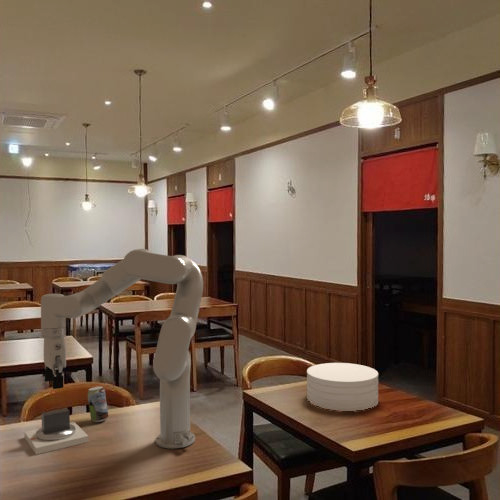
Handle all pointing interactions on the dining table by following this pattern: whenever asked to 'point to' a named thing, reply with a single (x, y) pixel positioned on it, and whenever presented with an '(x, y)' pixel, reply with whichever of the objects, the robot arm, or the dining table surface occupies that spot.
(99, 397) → the beverage can
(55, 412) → the dial
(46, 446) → the dial base
